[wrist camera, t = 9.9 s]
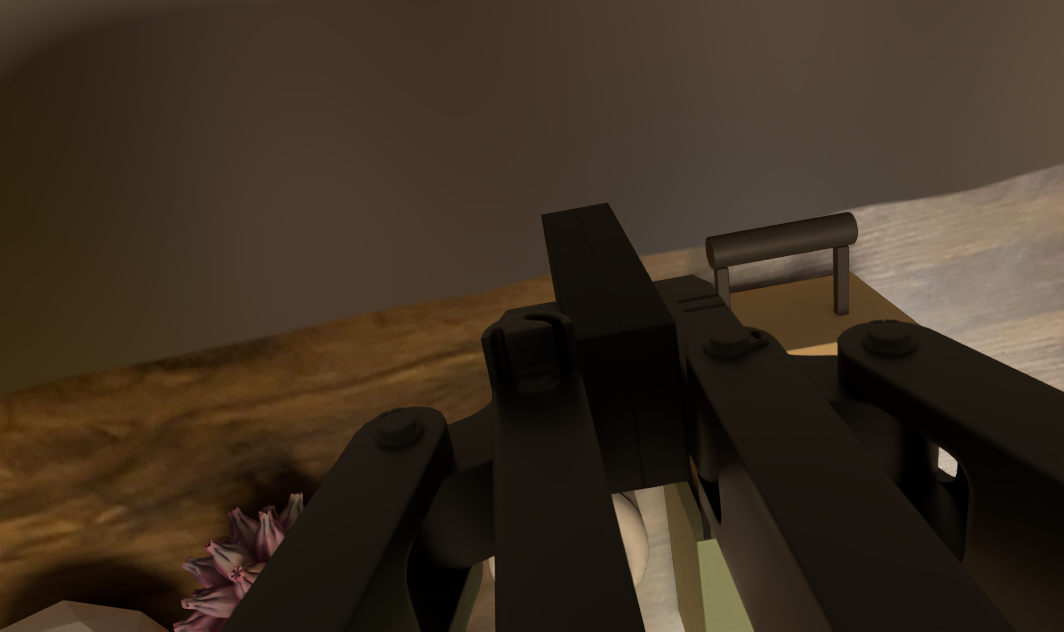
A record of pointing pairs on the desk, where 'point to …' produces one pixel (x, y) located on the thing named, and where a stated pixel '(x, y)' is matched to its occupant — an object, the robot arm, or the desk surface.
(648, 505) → the desk surface
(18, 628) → the geometric sphere
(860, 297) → the drawer
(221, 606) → the flower
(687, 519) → the cabinet
